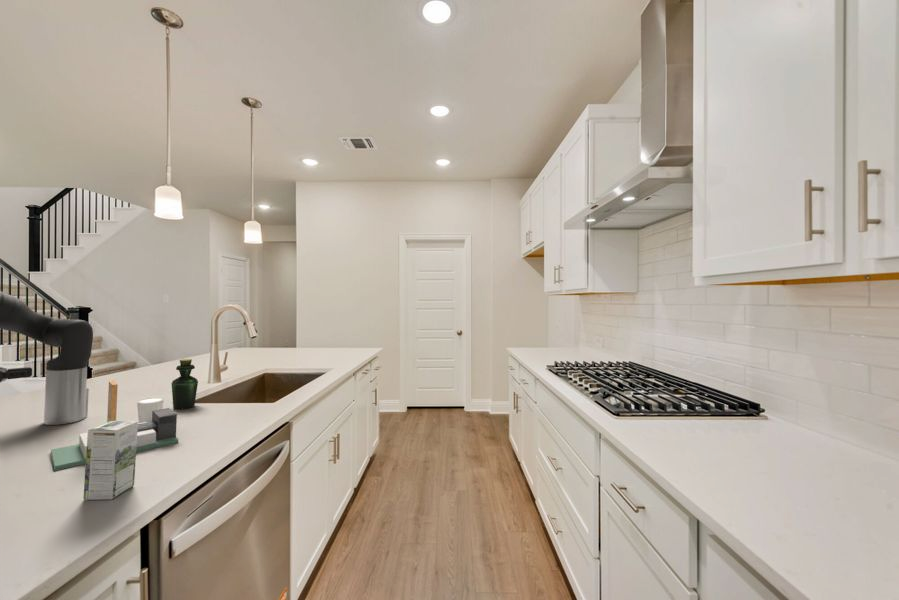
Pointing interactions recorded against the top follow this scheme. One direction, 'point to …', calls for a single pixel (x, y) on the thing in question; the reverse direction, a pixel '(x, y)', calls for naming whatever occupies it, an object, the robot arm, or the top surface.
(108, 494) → the syrup box
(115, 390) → the wooden l-shaped piece
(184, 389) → the potion bottle
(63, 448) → the heatsink board
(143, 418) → the white cup
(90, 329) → the robot arm
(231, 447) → the top surface
